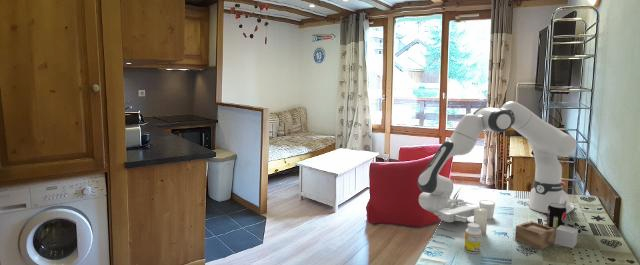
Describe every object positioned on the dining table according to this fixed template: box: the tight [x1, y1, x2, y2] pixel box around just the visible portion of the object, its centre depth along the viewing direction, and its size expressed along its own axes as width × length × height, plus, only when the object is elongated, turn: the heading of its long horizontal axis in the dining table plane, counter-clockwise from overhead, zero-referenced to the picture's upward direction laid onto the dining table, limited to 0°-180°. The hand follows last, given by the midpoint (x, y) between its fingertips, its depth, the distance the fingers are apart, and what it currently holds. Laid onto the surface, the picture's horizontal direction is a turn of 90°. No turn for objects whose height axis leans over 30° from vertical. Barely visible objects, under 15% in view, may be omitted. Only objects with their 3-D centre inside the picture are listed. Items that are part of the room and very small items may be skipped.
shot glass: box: [478, 199, 496, 220], centre depth 181 cm, size 7×7×7 cm
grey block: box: [554, 225, 579, 249], centre depth 151 cm, size 6×6×6 cm
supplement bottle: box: [464, 222, 482, 255], centre depth 144 cm, size 6×6×10 cm
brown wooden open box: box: [514, 220, 556, 250], centre depth 153 cm, size 10×10×6 cm
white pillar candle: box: [473, 207, 488, 236], centre depth 161 cm, size 5×5×10 cm
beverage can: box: [545, 203, 567, 229], centre depth 161 cm, size 7×7×12 cm
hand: (473, 218), depth 164 cm, fingers open, 8 cm apart
